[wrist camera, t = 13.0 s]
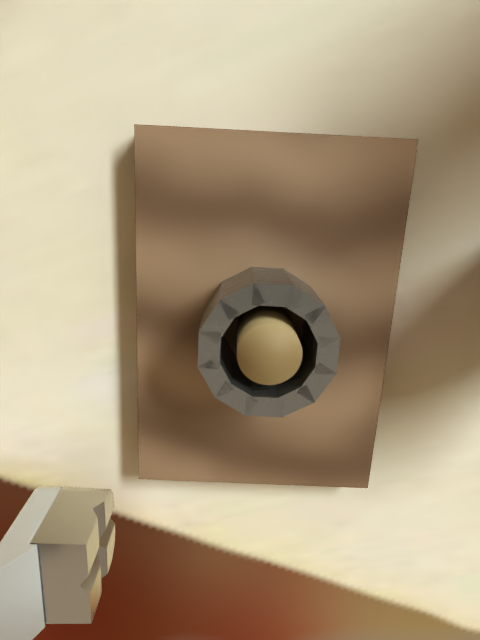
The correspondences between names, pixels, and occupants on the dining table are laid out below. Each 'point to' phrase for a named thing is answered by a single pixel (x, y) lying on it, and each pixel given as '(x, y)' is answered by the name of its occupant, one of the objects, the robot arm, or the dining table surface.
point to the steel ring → (222, 362)
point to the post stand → (264, 321)
